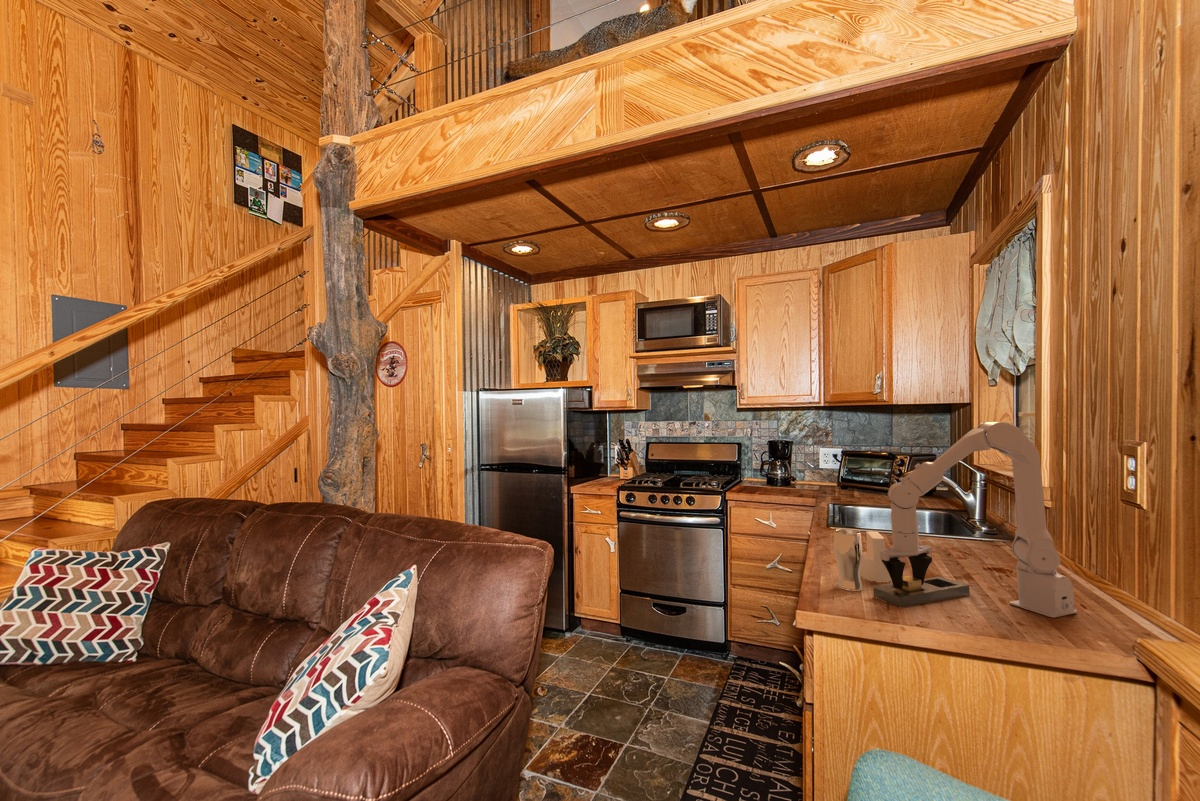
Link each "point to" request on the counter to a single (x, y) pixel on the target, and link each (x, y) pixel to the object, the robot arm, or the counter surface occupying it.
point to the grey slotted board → (923, 592)
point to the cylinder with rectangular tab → (874, 559)
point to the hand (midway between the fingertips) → (908, 585)
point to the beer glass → (848, 558)
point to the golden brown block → (911, 584)
